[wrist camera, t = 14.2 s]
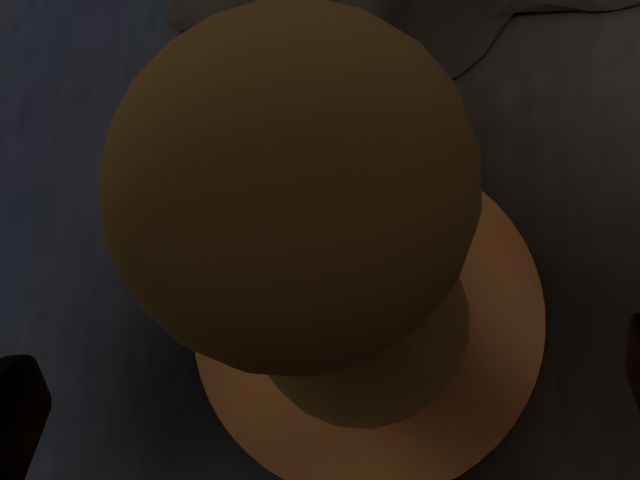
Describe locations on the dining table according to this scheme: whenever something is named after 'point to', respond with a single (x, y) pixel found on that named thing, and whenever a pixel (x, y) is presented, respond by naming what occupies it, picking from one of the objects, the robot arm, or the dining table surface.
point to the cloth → (426, 21)
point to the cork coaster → (434, 420)
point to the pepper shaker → (300, 205)
